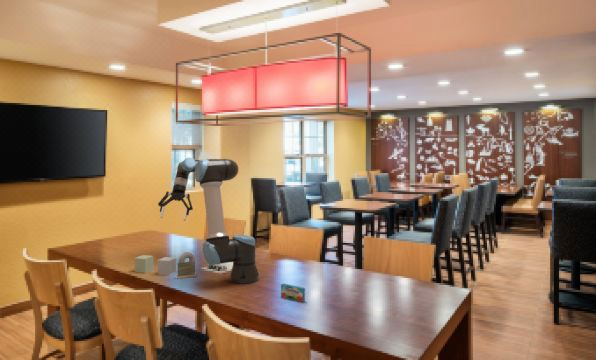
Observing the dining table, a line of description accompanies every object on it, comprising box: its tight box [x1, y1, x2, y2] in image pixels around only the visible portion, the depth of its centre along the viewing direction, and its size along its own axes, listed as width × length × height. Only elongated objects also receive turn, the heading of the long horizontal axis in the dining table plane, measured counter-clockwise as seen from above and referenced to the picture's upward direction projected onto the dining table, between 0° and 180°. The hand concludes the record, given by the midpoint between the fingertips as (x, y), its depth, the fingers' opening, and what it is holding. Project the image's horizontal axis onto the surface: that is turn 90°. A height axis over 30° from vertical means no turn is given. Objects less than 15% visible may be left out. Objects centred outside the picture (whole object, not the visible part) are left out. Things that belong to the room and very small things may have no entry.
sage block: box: [134, 254, 155, 274], centre depth 231 cm, size 7×7×8 cm
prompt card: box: [176, 260, 198, 280], centre depth 220 cm, size 4×10×8 cm, turn 109°
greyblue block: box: [157, 256, 177, 276], centre depth 227 cm, size 7×7×8 cm
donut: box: [178, 251, 196, 263], centre depth 234 cm, size 10×4×10 cm, turn 134°
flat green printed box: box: [280, 283, 306, 303], centre depth 186 cm, size 12×2×6 cm, turn 57°
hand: (172, 218), depth 241 cm, fingers open, 13 cm apart
